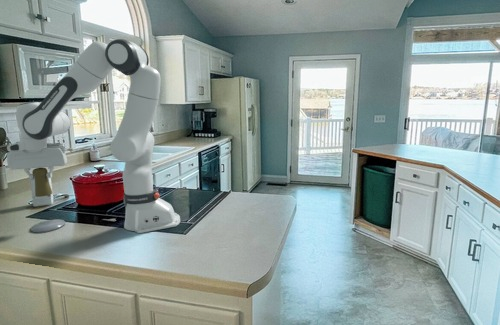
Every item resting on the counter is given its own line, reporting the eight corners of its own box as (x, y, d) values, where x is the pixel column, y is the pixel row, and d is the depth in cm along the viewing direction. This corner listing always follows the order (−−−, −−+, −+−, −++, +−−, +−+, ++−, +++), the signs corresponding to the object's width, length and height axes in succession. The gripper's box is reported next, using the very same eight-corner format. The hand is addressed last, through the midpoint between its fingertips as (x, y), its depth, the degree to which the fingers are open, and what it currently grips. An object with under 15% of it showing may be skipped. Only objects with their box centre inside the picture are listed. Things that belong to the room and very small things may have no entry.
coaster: (68, 219, 141) (68, 218, 141) (59, 230, 130) (59, 228, 130) (38, 223, 139) (37, 221, 138) (26, 234, 127) (25, 232, 127)
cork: (44, 197, 128) (39, 170, 126) (31, 196, 129) (26, 169, 127) (56, 192, 134) (51, 166, 131) (43, 191, 135) (39, 166, 133)
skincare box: (33, 207, 159) (28, 177, 156) (35, 203, 165) (31, 175, 162) (52, 204, 163) (48, 175, 159) (54, 201, 168) (50, 173, 165)
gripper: (66, 141, 132) (71, 174, 135) (9, 144, 128) (16, 178, 131) (61, 143, 126) (67, 177, 129) (1, 147, 122) (8, 182, 125)
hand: (41, 178), depth 130 cm, fingers closed on cork, 5 cm apart
